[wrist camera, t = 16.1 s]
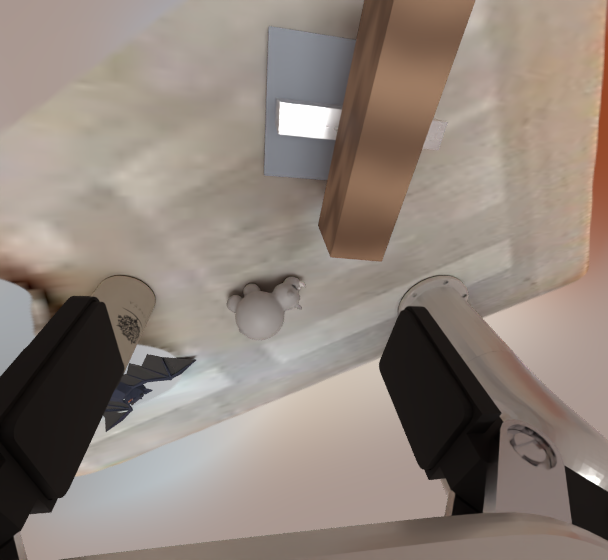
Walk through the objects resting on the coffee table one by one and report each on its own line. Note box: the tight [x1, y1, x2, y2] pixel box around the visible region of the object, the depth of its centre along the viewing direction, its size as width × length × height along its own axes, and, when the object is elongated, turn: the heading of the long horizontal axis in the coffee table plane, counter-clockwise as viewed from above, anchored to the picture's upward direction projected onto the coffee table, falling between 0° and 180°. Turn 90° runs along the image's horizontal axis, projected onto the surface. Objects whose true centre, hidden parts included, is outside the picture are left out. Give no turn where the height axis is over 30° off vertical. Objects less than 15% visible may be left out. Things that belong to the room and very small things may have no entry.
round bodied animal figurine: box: [227, 277, 306, 340], centre depth 45 cm, size 7×12×8 cm, turn 110°
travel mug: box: [91, 276, 155, 389], centre depth 38 cm, size 8×8×18 cm
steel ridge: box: [275, 97, 448, 150], centre depth 31 cm, size 2×16×8 cm, turn 84°
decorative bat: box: [103, 354, 196, 432], centre depth 55 cm, size 30×4×10 cm
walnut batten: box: [318, 0, 475, 261], centre depth 25 cm, size 20×5×7 cm, turn 170°
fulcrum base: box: [264, 26, 356, 180], centre depth 34 cm, size 14×18×2 cm
